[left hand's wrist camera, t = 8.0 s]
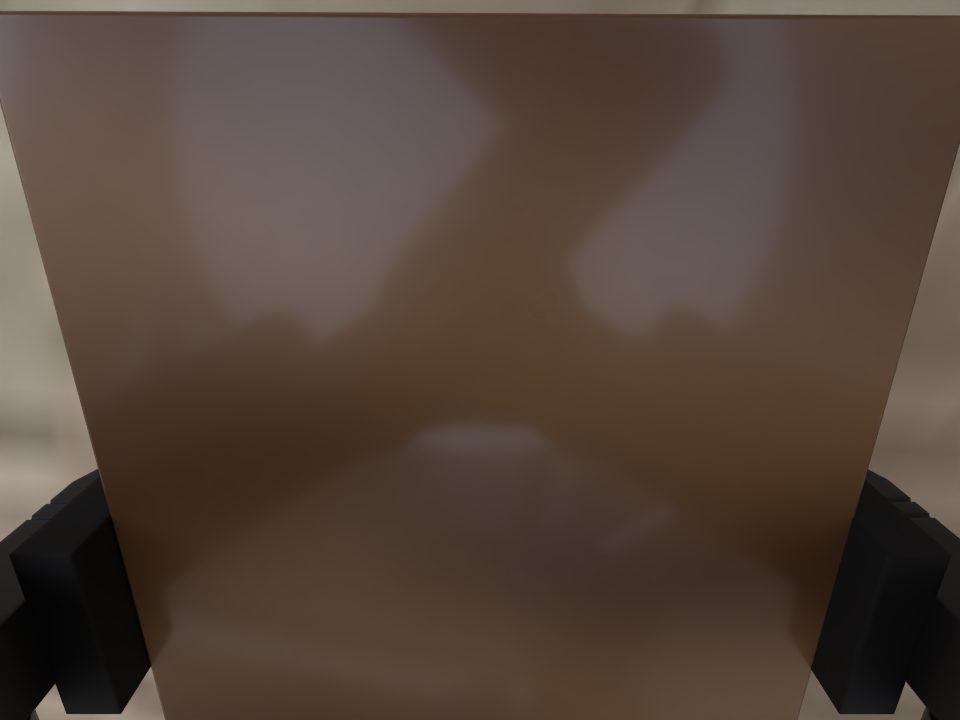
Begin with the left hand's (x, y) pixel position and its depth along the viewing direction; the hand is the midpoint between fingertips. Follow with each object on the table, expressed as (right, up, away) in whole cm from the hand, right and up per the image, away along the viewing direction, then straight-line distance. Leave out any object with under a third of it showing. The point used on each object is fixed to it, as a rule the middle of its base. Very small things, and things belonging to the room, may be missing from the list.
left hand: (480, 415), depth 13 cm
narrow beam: (0, -20, +8) cm, 21 cm away
